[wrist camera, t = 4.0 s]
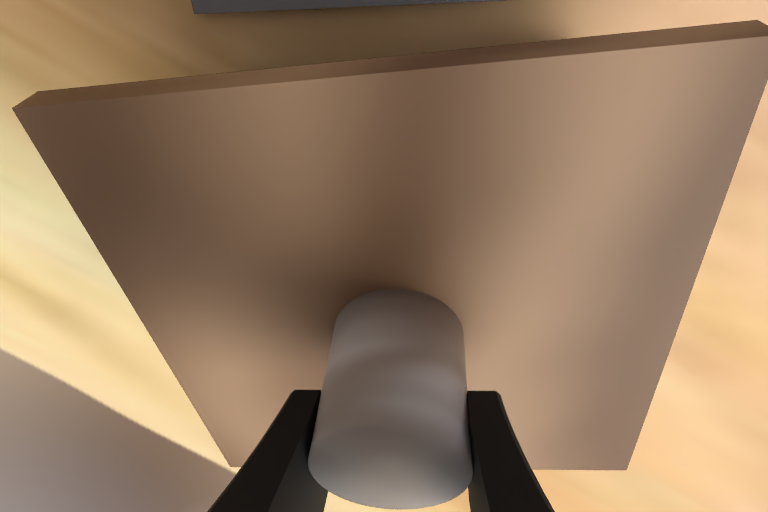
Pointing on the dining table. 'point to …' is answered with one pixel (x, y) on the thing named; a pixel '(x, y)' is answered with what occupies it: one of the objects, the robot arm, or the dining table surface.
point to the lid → (417, 239)
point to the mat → (299, 4)
